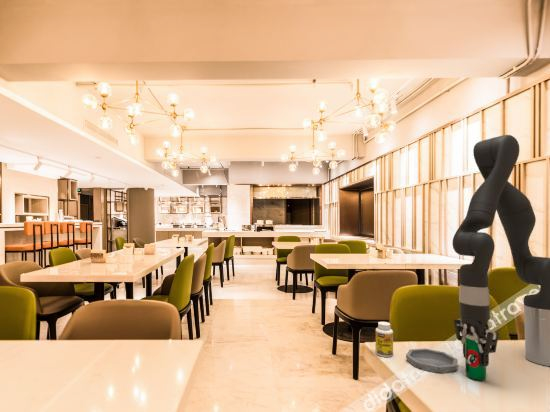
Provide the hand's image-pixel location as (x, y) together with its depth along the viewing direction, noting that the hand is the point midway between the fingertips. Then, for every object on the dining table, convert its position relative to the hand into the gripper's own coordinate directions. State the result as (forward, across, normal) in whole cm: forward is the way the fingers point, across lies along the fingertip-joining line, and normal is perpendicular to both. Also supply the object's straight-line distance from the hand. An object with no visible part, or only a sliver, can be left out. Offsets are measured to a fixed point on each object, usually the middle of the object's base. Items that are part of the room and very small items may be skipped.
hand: (475, 361), depth 94 cm
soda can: (+5, 0, 0) cm, 5 cm away
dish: (+4, +11, +6) cm, 13 cm away
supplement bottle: (+5, +20, +17) cm, 27 cm away
